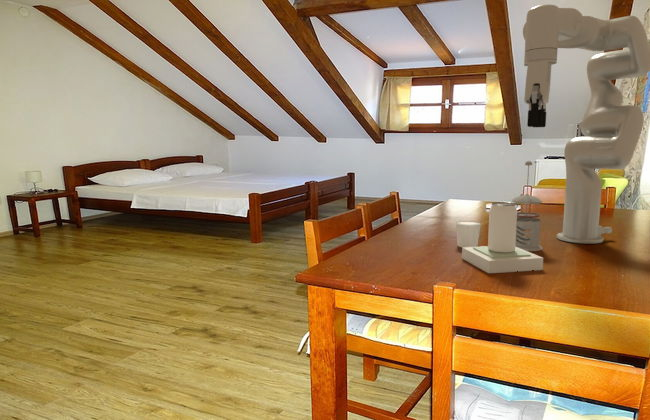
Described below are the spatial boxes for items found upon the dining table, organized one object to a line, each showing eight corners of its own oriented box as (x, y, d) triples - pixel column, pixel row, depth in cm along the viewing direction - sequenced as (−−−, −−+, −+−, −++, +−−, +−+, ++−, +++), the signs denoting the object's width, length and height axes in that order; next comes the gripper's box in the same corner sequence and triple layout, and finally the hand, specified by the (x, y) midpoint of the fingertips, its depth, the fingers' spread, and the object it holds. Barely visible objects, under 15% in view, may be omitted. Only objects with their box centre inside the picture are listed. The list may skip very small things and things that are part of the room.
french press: (527, 252, 126) (531, 162, 122) (494, 244, 136) (497, 160, 132) (550, 248, 130) (555, 161, 126) (516, 240, 140) (520, 159, 137)
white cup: (481, 249, 131) (482, 225, 130) (456, 248, 132) (457, 224, 131) (478, 243, 137) (478, 221, 136) (454, 243, 139) (455, 220, 138)
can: (483, 247, 118) (485, 202, 116) (507, 247, 118) (509, 201, 117) (494, 254, 111) (497, 205, 110) (520, 253, 112) (522, 205, 110)
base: (510, 255, 123) (511, 243, 122) (542, 269, 109) (543, 256, 109) (461, 258, 121) (462, 245, 120) (488, 273, 107) (489, 259, 107)
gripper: (528, 64, 124) (525, 127, 127) (519, 54, 109) (515, 126, 112) (559, 61, 120) (555, 127, 123) (554, 51, 106) (549, 126, 108)
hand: (536, 126), depth 118 cm, fingers open, 9 cm apart
